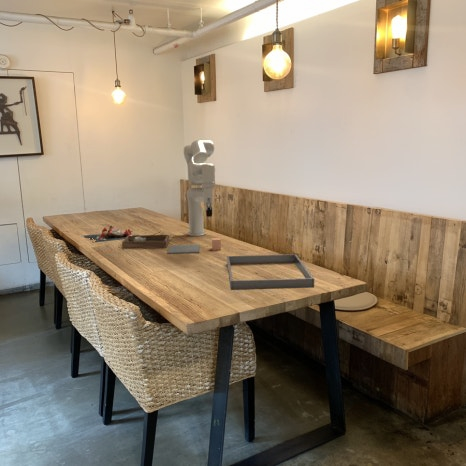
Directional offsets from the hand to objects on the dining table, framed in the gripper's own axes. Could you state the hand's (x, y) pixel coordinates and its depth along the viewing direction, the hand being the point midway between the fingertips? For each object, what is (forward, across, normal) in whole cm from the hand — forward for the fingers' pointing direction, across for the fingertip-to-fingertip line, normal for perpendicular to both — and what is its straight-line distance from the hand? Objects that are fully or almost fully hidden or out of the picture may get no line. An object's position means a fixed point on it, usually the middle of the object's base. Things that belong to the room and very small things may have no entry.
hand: (209, 215), depth 269 cm
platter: (+20, -43, -67) cm, 82 cm away
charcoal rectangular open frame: (+21, +54, +28) cm, 64 cm away
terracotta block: (+20, 0, +4) cm, 21 cm away
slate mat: (+20, 0, -15) cm, 25 cm away
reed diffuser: (+20, -18, -38) cm, 47 cm away
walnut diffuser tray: (+20, -15, -40) cm, 47 cm away
